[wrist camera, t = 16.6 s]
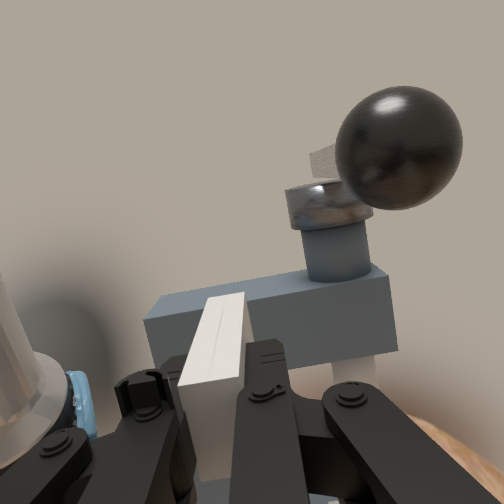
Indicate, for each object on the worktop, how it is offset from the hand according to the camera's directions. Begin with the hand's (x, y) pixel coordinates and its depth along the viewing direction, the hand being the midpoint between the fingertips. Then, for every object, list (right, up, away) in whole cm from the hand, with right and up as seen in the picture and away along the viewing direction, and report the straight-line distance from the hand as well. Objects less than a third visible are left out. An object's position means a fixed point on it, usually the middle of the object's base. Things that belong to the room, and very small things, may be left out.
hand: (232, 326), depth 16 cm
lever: (+7, +4, +8) cm, 11 cm away
